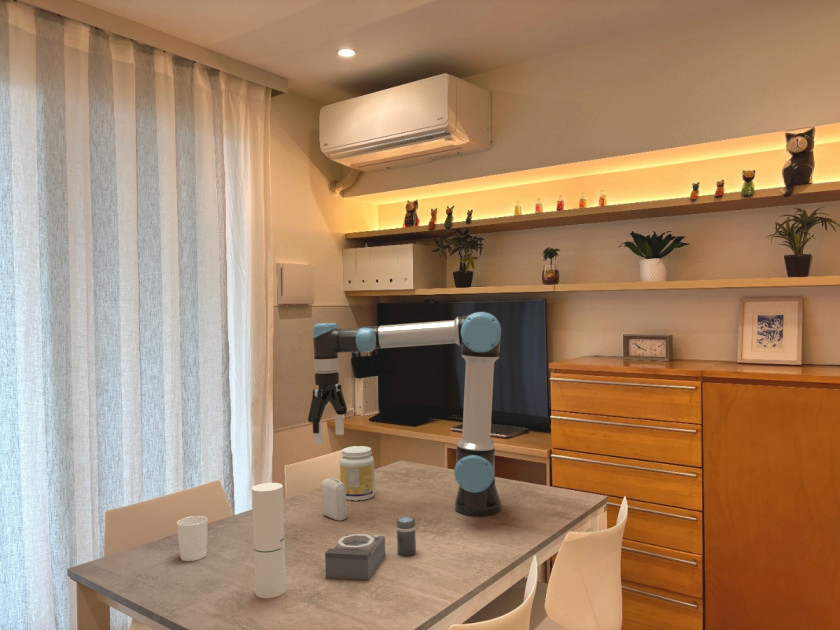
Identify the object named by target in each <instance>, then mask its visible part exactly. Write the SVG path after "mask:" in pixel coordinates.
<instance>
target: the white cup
mask: <svg viewBox="0 0 840 630" xmlns="http://www.w3.org/2000/svg"><path fill="white" fill-rule="evenodd" d="M176 528H177V540H178V541H177V542H178V548H179V557H180V560H181V561H184V562H194V561H198V560H201V559H203V558H205V557H206V556H207V545H208V517H206V516H204V515H192V516H187V517H183V518H181V519H179V520H178V521H176Z"/></svg>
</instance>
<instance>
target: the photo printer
mask: <svg viewBox="0 0 840 630" xmlns="http://www.w3.org/2000/svg"><path fill="white" fill-rule="evenodd" d="M321 509H322V510H321V512H322V515H324V516H326V517H328V518H329V519H332V520H335V521H339V522H340V521H344V520H346V519H347V518H348V517H347V515H348V513H347V512H348V511H347V500H346V488H345V485H344V484H343V483H342V482H341V480H340V479H338V478H334V477H328V478H325V479H323V480H322V482H321Z"/></svg>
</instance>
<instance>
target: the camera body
mask: <svg viewBox="0 0 840 630" xmlns="http://www.w3.org/2000/svg"><path fill="white" fill-rule="evenodd" d="M385 556H386V536H385V535H384V536H382V535H379V534H374V535H370V534H367V533H365V534H364V533H363V534H362V533H361V534H360V533H353V534H345V535H344V536H342V537H340V539H338V541H337V542H336V545H335V546H334V548H328V549H327V550H326V552H324V557H325V558H324V559H325V560H324V561H325V578H326V579H338V580H339V579H341V580H355V581H356V580H358V581H369V580H370V578H371V577H372V576H373V574H374V572H375V571H376V570H377V568H378V567H379V565H380V564H381V562H382V560H383V559H384V558H385Z"/></svg>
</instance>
